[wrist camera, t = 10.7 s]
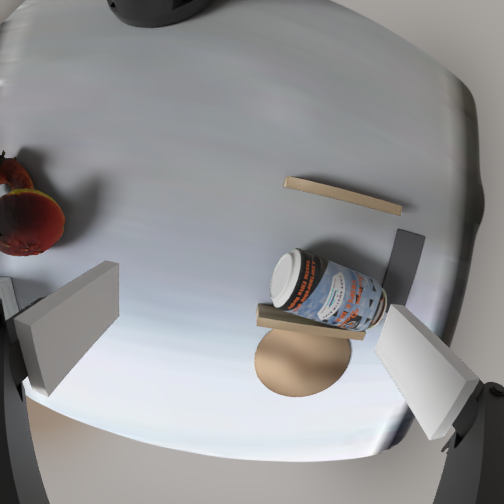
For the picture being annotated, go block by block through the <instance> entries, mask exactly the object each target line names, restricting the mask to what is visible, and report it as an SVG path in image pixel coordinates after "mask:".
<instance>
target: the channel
mask: <svg viewBox="0 0 504 504" xmlns="http://www.w3.org/2000/svg"><path fill="white" fill-rule="evenodd" d="M283 187H286V188H291V189H295V190H300V191H304V192H309V193H313V194H317V195H321V196H326V197H330V198H334V199H338V200H342V201H346V202H350V203H353V204H357V205H361V206H365V207H368V208H372V209H376V210H379V211H383V212H386V213H391V214H395V215H399V216H401V211H402V206H400V205H397V204H394V203H390V202H387V201H384V200H380V199H377V198H373V197H370V196H366V195H363V194H359V193H355V192H352V191H348V190H344V189H340V188H336V187H333V186H329V185H325V184H320V183H316V182H312V181H308V180H304V179H299V178H295V177H290V176H288V177H285V180H284V185H283ZM256 316H257V326H261V327H267V328H273V329H279V330H286V331H293V332H299V333H306V334H314V335H321V336H329V337H337V338H346V339H355V340H363V339H364V336H365V334H366V332H365V331H361V332H355V331H351V330H347V329H343V328H340V327H336V326H333V325H329V324H325V323H322V322H318V321H315V320H312V319H308V318H305V317H301V316H298V315H295V314H291V313H288V312H285V311H281V310H278V309H276V308H275V307H274V306H268V305H262V304H258V307H257V311H256Z"/></svg>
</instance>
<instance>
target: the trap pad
mask: <svg viewBox="0 0 504 504" xmlns="http://www.w3.org/2000/svg"><path fill="white" fill-rule="evenodd" d="M424 239H425V237H423V236H420V235H416V234H413V233H409V232H406V231H402V230H397V234H396V238H395V242H394V246H393V250H392V253H391V257H390V261H389V264H388V268H387V271H386V275H385V278H384V281H383V285H382V288H383V289H384V290H385V292H386V295H387V307H386V311H385V312H386V313H388V311H389V308H390V305H391V304H397V305H403V306H405V303H406V300H407V297H408V294H409V291H410V288H411V285H412V282H413V278H414V275H415V272H416V269H417V265H418V262H419V258H420V254H421V251H422V247H423V243H424Z"/></svg>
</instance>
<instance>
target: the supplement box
mask: <svg viewBox="0 0 504 504" xmlns="http://www.w3.org/2000/svg"><path fill="white" fill-rule="evenodd" d="M0 298H1V299H2V304H3V309H4V315H5V320H7V319H9V318H10V317H12V316H13V315H15V314H16V313H18V312H19V309H18V305H17V301H16V298H15V294H14V289H13V285H12V281H11V278H8V277H0Z"/></svg>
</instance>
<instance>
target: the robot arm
mask: <svg viewBox="0 0 504 504" xmlns="http://www.w3.org/2000/svg"><path fill="white" fill-rule="evenodd" d="M213 1H214V0H107V2H108V5H109V7H110V9H111V11H112V12H113V13H114V14H115V15H116V16H117V18H118V19H119V20H121V21H122V22H124V23H126V24H128V25H131V26H135V27H158V26H163V25H168V24H171V23H175V22H178V21H181V20H183V19H186V18H188V17H190V16H192V15H194V14H196V13H198V12H199V11H201V10H202V9H204V8H205V7H207V6H208V5H209V4H211V3H212V2H213ZM118 317H119V263H115V262H110V261H104V262H102V263H101V264H99V265H97V266H96V267H94V268H92V269H90V270H89V271H87V272H85V273H84V274H82V275H81V276H79V277H77V278H76V279H74V280H72V281H71V282H69V283H68V284H66V285H64V286H63V287H61V288H60V289H58V290H56V291H55V292H53V293H52V294H50V295H49V296H46V297H43V298H39V299H37V300H36V301H34V302H33V303H31V305H28V306H27V307H25V308H24V309H22V310H21V311H19V312H18V313H16V314H15V315H13V316H12V317H10V318H9V319H7V320H5V315H4V309H3V304H2V299H1V298H0V504H50V503H49V500H48V498H47V495H46V492H45V488H44V485H43V482H42V478H41V475H40V471H39V468H38V464H37V460H36V456H35V451H34V447H33V442H32V437H31V431H30V426H29V419H28V413H27V406H26V397H25V389H24V386H23V383H22V381H23V380H24V379H25V378H26V377H27V376H28V378H29V381H30V384H31V387H32V389H33V390H35V391H37V392H39V393H41V394H44V395H46V396H48V397H49V396H50V394H51V393H52V392H53V391H54V390H55V388H56V387H57V386H58V385H59V384H60V382H61V381H62V380H63V379H64V378H65V376H66V375H67V374H68V373H69V372H70V371H71V369H72V368H73V367H74V366H75V365H76V364H77V362H78V361H79V360H80V359H81V358H82V357H83V356H84V354H85V353H86V352H87V351H88V350H89V349H90V348H91V347H92V345H93V344H94V343H95V342H96V341H97V340H98V339H99V338H100V336H101V335H102V334H103V333H104V332H105V331H106V330H107V329H108V328H109V327H110V325H111V324H112V323H113V322H114V321H115V320H116V319H117V318H118ZM374 352H375V354H376V355H377V357H378V358H379V360H380V361H381V363H382V364H383V366H384V367H385V369H386V370H387V372H388V374H389V375H390V377H391V378H392V380H393V381H394V383H395V385H396V386H397V388H398V389H399V391H400V392H401V394H402V396H403V397H404V399H405V400H406V402H407V404H408V405H409V407H410V409H411V410H412V412H413V413H414V415H415V417H416V418H417V420H418V421H419V423H420V425H421V427H422V428H423V430H424V432H425V433H426V435H427V437H428V439H429V440H432V439H436V438H441V437H444V436H445V435H446V433H447V432H448V430H449V429H450V427H451V426H452V425H453V427H454V428H455V430H456V431H455V432H454V434H453V435H452V437H451V438H450V439H449V441H448V442H447V443H446V444H445V446H444V447H443V448H442V450H441V452H444V450H445V449H446V448H448V447H449V449H448V452H447V457H446V461H445V466H444V469H443V473H442V476H441V480H440V483H439V486H438V490H437V493H436V496H435V499H434V502H433V504H504V387H503V386H502V385H500V384H497V383H494V382H488V383H486V384H483V382H482V381H481V380H480V378H478V376H477V375H476V374H475V373H474V372H473V371H472V370H471V369H470V368H469V367H468V366H467V365H466V364H465V363H464V362H463V361H462V360H461V359H460V358H459V357H458V356H457V355H456V354H455V353H454V352H453V351H452V350H451V349H450V348H449V347H447V346H446V345H445V344H444V343H443V342H442V341H441V340H440V339H439V338H438V337H437V336H436V335H435V334H434V333H433V332H432V331H431V330H430V329H429V328H427V327H426V326H425V325H424V324H423V323H422V322H421V321H420V320H419V319H418V318H417V317H416V316H414V315H413V314H412V313H411V312H410V311H409V310H408V309H407V308H406V307H405V306H403V305H397V304H391V305H390V308H389V311H388V314H387V317H386V320H385V323H384V326H383V329H382V332H381V334H380V337H379V340H378V343H377V345H376V348H375V351H374Z"/></svg>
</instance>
